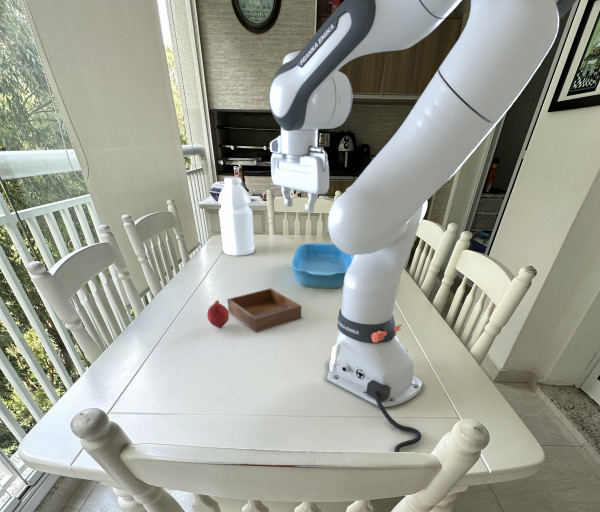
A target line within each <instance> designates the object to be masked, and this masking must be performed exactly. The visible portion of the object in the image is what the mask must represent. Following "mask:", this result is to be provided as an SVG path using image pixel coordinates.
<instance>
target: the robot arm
mask: <svg viewBox="0 0 600 512" xmlns="http://www.w3.org/2000/svg"><path fill="white" fill-rule="evenodd" d="M462 1H463V0H343V1H342V2H341V3H340V5H338V7H336V9H335V10H334V11H333V12H332V13H331V14H330V16H329V17H328V18H327V19H326V21H324V23H323V24H322V25H321V26H320V27H319V28H318V30H317V31H316V32H315V33H314V35H313V36H312V37H311V38H310V39H309V41H308V42H307V43H306V45H304V46H303V48H301V49H295V50H293V51H289V52H288V53H287V54H286V55H285V56H284V58H283V59H282V65H280V67H278V69H277V70H276V72H275V74H274V76H273V78H272V80H271V83H270V86H269V91H268V104H269V108H270V111H271V114H272V115H273V118H274V120H275V121H276V123H277V124H278V125H279V126H280V134H279V135H278V136H277V137H276V138H274V139H273V140H271V141H270V142H269V150H270V152H271V153H272V154H271V157H270V173H271V181H272V183H273V185H274V186H277V187H280V188H281V194H282V197H283V203H284V204H283V205H284V206H285V207H288V208H289V207H293V204H294V203H293V199H294V198H292V197H291V191H292V190H296V191H299V192H305V193H307V198H308V200H307V203H305V204H304V207H305V209H304V212H306V213H309V214H311V213H314V211H315V205H316V202H317V200H318V198H319V195H324V194H325V195H326V194H328V191H329V189H330V166H329V160H328V154H327V152H326V150H325V149H324V147H322V146H318V145H319V142H318V141H319V130H323V129H324V130H327V129H328V130H329V129H330V130H332V129H335V128H339V127H341V126H343V125H344V123H345V122H346V121H347V120H348V118H349V116H350V113H351V111H352V107H353V98H354V97H353V96H354V95H353V87H352V83H351V80H350V79H349V77H348V76H347V74H345V73H344V72H341V71H339V70H340V69H341V68H342V67H344V66H345V65H346V64H347V63H349V62H350V61H352V60H355V59H357V58H360V57H363V56H366V55H370V54H377V53H384V52H395V51H403V50H406V49H410V48H412V47H413V46H415V45H416V44H418V43H419V42H420V41H423V39H425V38H426V37H428V36H429V35H430V34H431V33H432V32H433V31H434V30H436V29H437V27H438V26H440V24H441V23H442V22H443V21H444V20H445V19H446V18H447V17H448V16H449V15H450V14H451V13H452V12H453V11H454V10H455V9H456V8H457V6H458V5H459V4H460V3H461V2H462ZM577 1H578V0H470V11H469V15H468V19H467V21H466V24H465V26H464V29H463V30H462V32H461V34H460V36H459V37H458V39H457V41H456V42H455V44H454V45H453V47H452V48H451V49H450V51H449V52H448V54H447V55H446V57H445V58H444V60H443V61H442V63H441V64H440V66H439V68H437V71H436V72H435V74H434V75H433V77H432V78H431V80H430V81H429V83H428V84H427V86H426V88H425V89H424V90H423V92H422V93H421V95H420V96H419V98H418V100H417V101H416V102H415V104H414V106H413V108H412V109H411V110H410V112H409V114H408V115H407V117H406V118H405V119H404V121H403V122H402V123H401V125H400V126H399V128H398V129H397V130H396V132H395V133H394V134H393V136H392V137H391V138H390V139H389V141H388V142H387V143H386V144H385V145H384V147H383V148H382V149H381V150H380V151H379V152H378V153H377V154H376V156H375V157H374V158H373V159H372V160H371V161H370V163H369V164H368V165H367V166H366V167H365V168H364V169H363V171H362V172H361V174H359V176H358V177H357V178H356V179H355V181H353V183H352V184H351V185H350V186H349V187H348V188H347V189H346V190H345V191H344V192H343V193H342V194H341V195H339V196H338V197H337V198H336V199H335V200H334V202H333V203H332V205H331V207H330V209H329V212H328V215H327V216H328V217H327V218H328V219H327V227H328V228H327V229H328V234H329V236H330V239H331V241H332V242H333V244H335V245H336V247H337V248H338V249H339V250H341V251H342V252H344V253H346V254H350V255H353V260H352V262H351V264H350V266H349V268H348V269H347V271H346V274H345V277H344V286H342V297H341V308H340V309H339V310H338V316H337V329H338V332H337V335H336V336H337V337H336V341H335V344H334V346H332V351H331V358H330V361H329V363H328V369H329V371H328V374H327V376H326V379H327V381H328V382H330V383H332V384H334V385H336V386H338V387H340V388H341V389H343V390H346V391H347V392H350V393H352V394H353V395H355V396H357V397H359V398H361V399H363V400H365V401H367V402H369V403H371V404H373V405H375V406H377V407H378V409H379V411H380V412H381V413H382V415H383V416H384V417H385V419H386V420H387V421H388V423H390V424H391V425H392V426H394V427H395V428H396V429H398V430H400V431H405V432H409V433H412V434H415V438H412V439H409V440H405V441H402V442H400V443H398V444H397V445H395V447H394V450H393V452H400V450H401V449H402V448H403V449H404V448H405V447H408V446H411V445H415V444H417V443H419V442H420V441H421V440H422V433H421V432H420V430H419V429H416V428H414V427H411V426H406V425H402V424H400V423H398V422H397V421H395V419H393V418H392V416H390V414H389V412H388V411H387V410H386V408H389V407H394V406H398V405H401V404H403V403H405V402H408V401H410V400H411V399H413V398H414V397H416V396H418V394H419V393H420V392H421V390H422V385H423V382H422V381H421V379H420V378H418V377H417V376H416V375H414V374H415V362H414V360H413V358H412V357H411V356H410V354H409V351H408V350H407V348H405V347H404V345H403V344H402V342H401V341H400V339H399V338H398V336H397V332H399V331H400V330H402V328H401V327H402V324H399V325H396V321H395V316H394V315H395V314H394V310H395V306H396V305H395V304H396V299H397V294H398V290H399V285H400V281H401V278H402V275H403V273H404V270H405V269H404V268H405V266H406V264H407V261H408V258H409V255H410V253H411V251H412V248H413V245H414V242H415V238H416V235H417V232H418V229H419V228H420V225H421V223H422V220H423V219H424V218H425V215H426V212H427V210H428V209H427V208H428V200H429V199H430V198H431V197H432V196H433V195H434V194H436V193H437V191H439V190H440V189H441V188H442V187H443V186H444V185H445V184H446V183H447V182H448V181H449V180H451V178H452V177H453V176H454V175H455V174H456V173H457V172H458V170H459V169H460V168H461V167H462V166H463V164H465V162H467V160H468V159H469V157H470V156H471V155H472V154H473V153H474V152H475V150H476V149H477V148H478V147H479V146H480V144H481V143H482V142H483V141H484V139H486V137H487V136H488V135H489V134H490V132H491V131H492V130H493V129H494V128H495V126H496V125H497V124H498V123H499V122H500V121H501V119H502V118H503V117H504V115H505V114H506V113H507V112H508V110H509V109H511V107H512V105H513V104H514V102H515V101H517V99H518V97H519V96H520V95H521V93H522V92H523V90H524V89H525V88H526V86H527V85H528V84H529V82H530V81H531V79H532V78H533V76H534V75H535V73H536V72H537V71H538V69H539V68H540V66H541V64H542V62H543V61H544V60H545V58H546V56H547V55H548V53H549V51H550V50H551V48H552V46H553V44H554V43H555V40H556V38H557V35H558V33H559V27H560V19H562V18H563V17H564V16H565V15H566V14H567V13H568V12H569V11H570V10H571V8H572V7H573V6H574V5H575V4H576V2H577ZM291 189H292V190H291Z"/></svg>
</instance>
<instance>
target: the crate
mask: <svg viewBox="0 0 600 512" xmlns="http://www.w3.org/2000/svg"><path fill="white" fill-rule="evenodd" d="M226 300H227V308H228V309H227V310H228V313H230V314H232V316H234V317H236V318H237V319H238V320H240V321H241V322H242V323H243V324H245V325H246V326H248V327H249V328H250V329H251V330H253V331H254V332H255V333H258V332H262V331H264V330H268V329H270V328H274V327H277V326H281V325H284V324H286V323H289V322H293V321H296V320H299V319H301V318H302V305H301V304H299V303H297V302H296V301H294V300H292V299H291V298H289V297H287V296H285V295H283V294H282V293H280V292H278V291H276V290H275V289H273V288H271V287H269V288H266V289H262V290H258V291H254V292H250V293H246V294H241V295H238V296H234V297H230V298H227V299H226Z"/></svg>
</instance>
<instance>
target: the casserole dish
mask: <svg viewBox="0 0 600 512" xmlns="http://www.w3.org/2000/svg"><path fill="white" fill-rule="evenodd" d="M353 258H354V255H350V254H346V253H344V252H342V251H341V250H339V249H338V248H337V247H336V245H335V244H334V243H332V242H313V243H312V242H311V243H302V244H300V245H299V246H297V248H296V249H295V251H294V255H293V257H292V260H291V268H292V271H293V274H294V278H295V280H296V282H297V283H298V284H299V285H301V287H305V288H306V287H307V288H316V289H317V288H318V289H340V288H343V286H344V277H345V274H346V271H347V269H348V268H349V266H350V264H351V262H352V260H353Z"/></svg>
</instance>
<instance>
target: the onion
mask: <svg viewBox="0 0 600 512" xmlns="http://www.w3.org/2000/svg"><path fill="white" fill-rule="evenodd" d="M229 313H230V312H229V309H227V307H226V306H225V305H223V304H221V303H220V301H219V300H218V299H217V300H214V302H213V304H211V305H210V306H209V308H208V310H207V314H206V317H207V320H208V321H209V323H210V324H211V325H212V326H214V327H216V328H219V329H220V328H222V327H223V326H225V325H226V324H227V323H228V322H229V320H230V318H229V317H230V316H229V315H230V314H229Z"/></svg>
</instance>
